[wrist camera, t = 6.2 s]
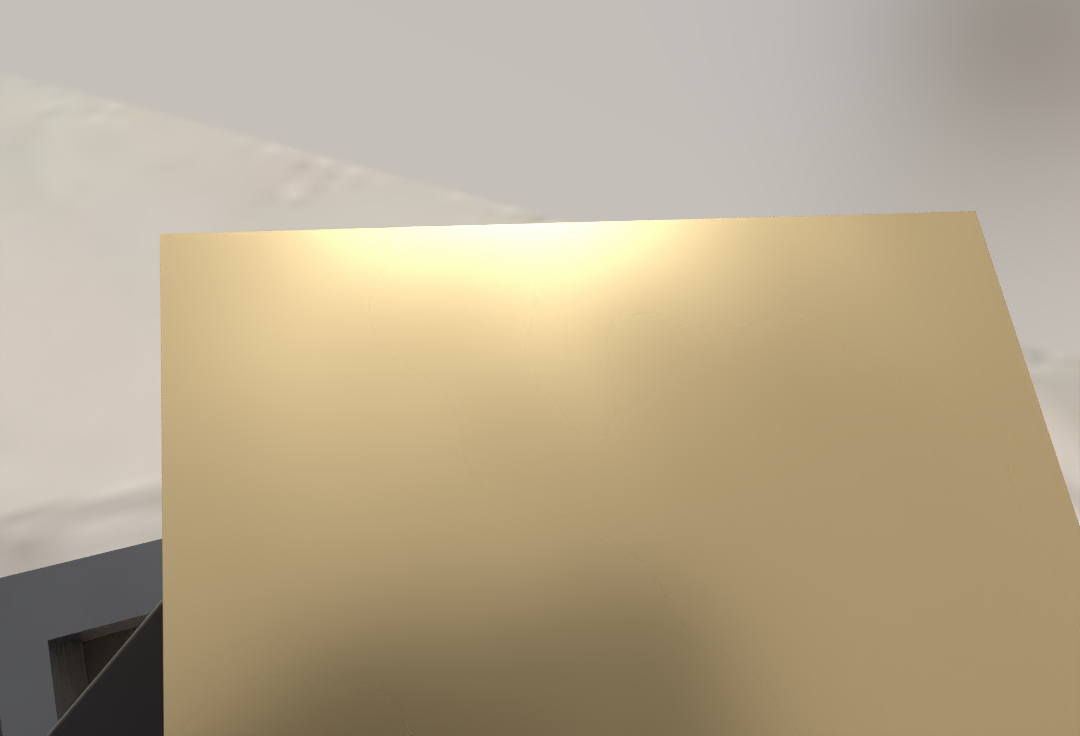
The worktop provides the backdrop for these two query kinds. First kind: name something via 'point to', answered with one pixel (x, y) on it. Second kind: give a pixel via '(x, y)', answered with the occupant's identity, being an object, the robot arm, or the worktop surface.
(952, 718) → the brass post
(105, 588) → the dark gray rack frame
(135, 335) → the worktop surface
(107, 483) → the worktop surface
